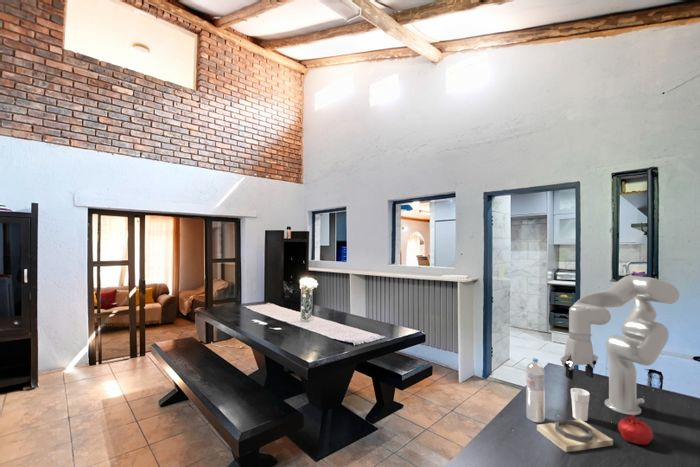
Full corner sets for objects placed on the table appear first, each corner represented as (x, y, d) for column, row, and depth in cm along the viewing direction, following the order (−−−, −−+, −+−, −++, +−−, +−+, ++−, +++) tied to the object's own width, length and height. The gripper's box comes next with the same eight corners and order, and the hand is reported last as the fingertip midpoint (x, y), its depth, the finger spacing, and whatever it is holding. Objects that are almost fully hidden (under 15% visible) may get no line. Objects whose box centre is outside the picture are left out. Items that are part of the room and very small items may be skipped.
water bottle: (547, 424, 138) (547, 362, 138) (529, 422, 140) (528, 361, 140) (541, 415, 145) (541, 356, 145) (524, 413, 146) (523, 355, 146)
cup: (587, 415, 145) (587, 389, 145) (591, 423, 139) (591, 396, 139) (569, 412, 147) (569, 386, 147) (572, 420, 141) (572, 393, 141)
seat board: (580, 424, 138) (580, 415, 138) (612, 445, 124) (612, 435, 124) (536, 429, 134) (536, 421, 134) (565, 452, 121) (565, 442, 121)
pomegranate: (655, 452, 121) (655, 426, 121) (619, 442, 126) (620, 418, 126) (649, 437, 129) (649, 413, 129) (616, 429, 135) (616, 405, 134)
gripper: (589, 332, 148) (588, 372, 148) (554, 334, 145) (554, 375, 145) (605, 338, 141) (604, 379, 141) (569, 340, 137) (569, 382, 137)
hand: (579, 377), depth 143 cm, fingers open, 9 cm apart
